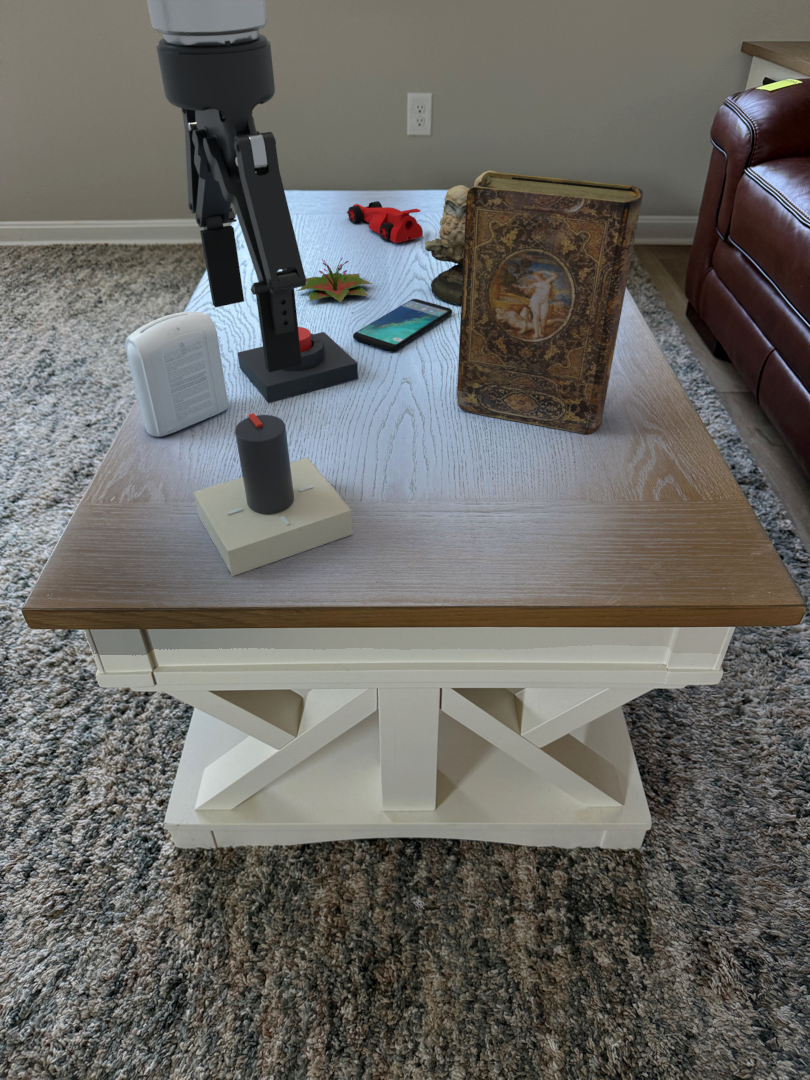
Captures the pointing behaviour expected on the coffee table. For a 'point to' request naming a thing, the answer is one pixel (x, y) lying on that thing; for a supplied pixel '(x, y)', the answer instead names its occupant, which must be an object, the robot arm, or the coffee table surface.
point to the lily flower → (335, 284)
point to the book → (543, 297)
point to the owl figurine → (451, 244)
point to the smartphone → (402, 324)
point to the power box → (300, 369)
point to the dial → (265, 463)
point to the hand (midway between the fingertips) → (254, 333)
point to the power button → (304, 339)
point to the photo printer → (177, 371)
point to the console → (273, 520)
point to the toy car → (387, 221)
